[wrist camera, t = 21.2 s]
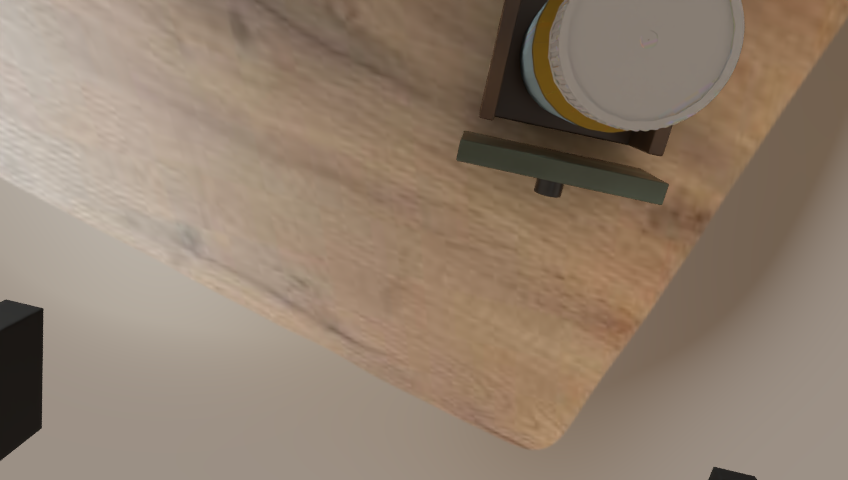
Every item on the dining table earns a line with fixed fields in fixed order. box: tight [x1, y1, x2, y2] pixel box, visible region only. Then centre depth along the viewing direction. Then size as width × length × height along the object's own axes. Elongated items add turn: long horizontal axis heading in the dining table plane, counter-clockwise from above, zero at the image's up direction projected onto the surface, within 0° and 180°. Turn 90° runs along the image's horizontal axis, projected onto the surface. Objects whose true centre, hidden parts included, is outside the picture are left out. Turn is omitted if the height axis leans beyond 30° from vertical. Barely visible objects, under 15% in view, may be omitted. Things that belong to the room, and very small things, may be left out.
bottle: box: [519, 0, 744, 133], centre depth 27 cm, size 7×7×15 cm
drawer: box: [456, 0, 672, 205], centre depth 32 cm, size 14×11×6 cm
